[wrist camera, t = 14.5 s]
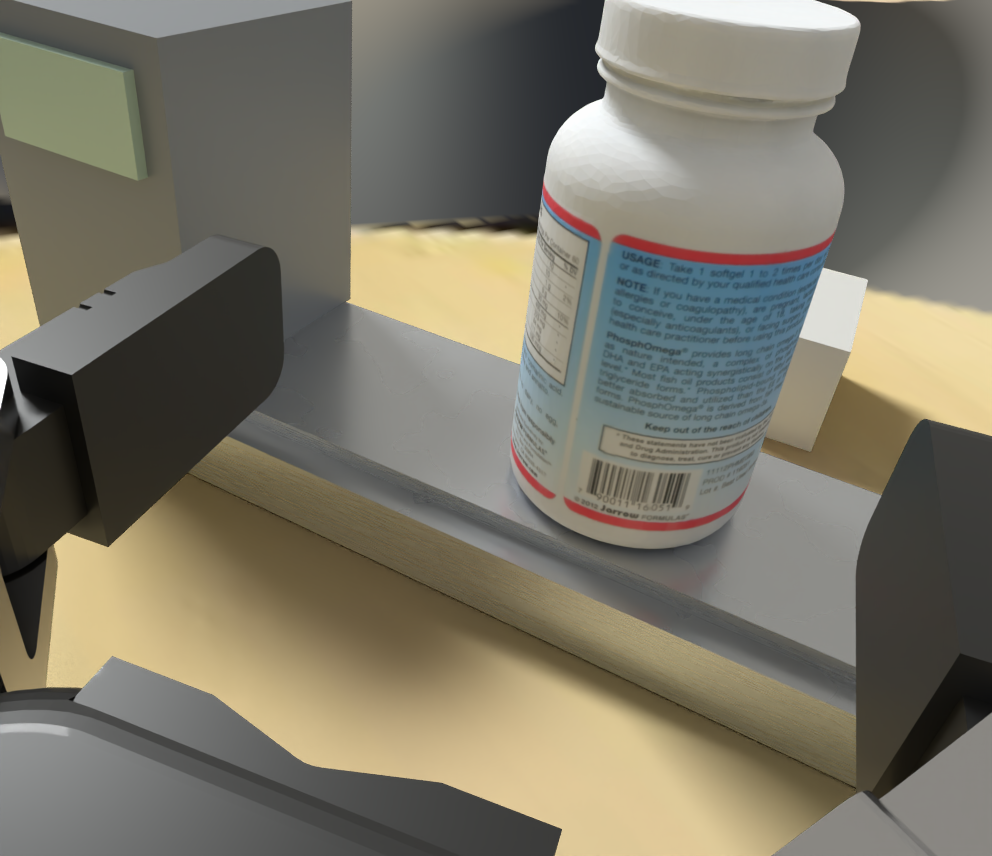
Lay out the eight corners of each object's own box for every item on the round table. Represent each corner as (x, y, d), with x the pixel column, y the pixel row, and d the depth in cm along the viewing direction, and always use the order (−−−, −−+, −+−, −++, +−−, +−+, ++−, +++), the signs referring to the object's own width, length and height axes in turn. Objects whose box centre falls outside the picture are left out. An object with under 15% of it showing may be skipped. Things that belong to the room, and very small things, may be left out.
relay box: (809, 455, 29) (850, 352, 26) (693, 416, 30) (722, 314, 28) (831, 374, 33) (867, 279, 31) (729, 343, 34) (757, 250, 32)
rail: (1402, 1045, 15) (1511, 984, 14) (42, 404, 26) (25, 332, 25) (1298, 717, 21) (1368, 651, 20) (224, 306, 32) (219, 243, 31)
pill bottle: (774, 472, 23) (942, 18, 17) (675, 600, 19) (849, 58, 12) (581, 385, 26) (662, -38, 19) (457, 481, 22) (506, -21, 15)
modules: (1506, 972, 14) (2191, 586, 9) (31, 329, 25) (-51, -13, 20) (1374, 666, 20) (1750, 315, 14) (209, 248, 31) (182, -38, 25)
